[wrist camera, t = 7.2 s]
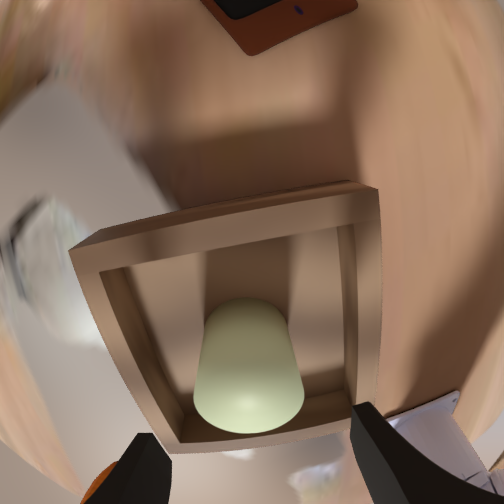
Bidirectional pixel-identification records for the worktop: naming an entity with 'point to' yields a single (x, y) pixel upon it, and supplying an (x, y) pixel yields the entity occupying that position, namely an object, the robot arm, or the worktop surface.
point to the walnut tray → (238, 286)
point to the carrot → (98, 482)
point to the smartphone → (273, 19)
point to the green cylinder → (247, 368)
